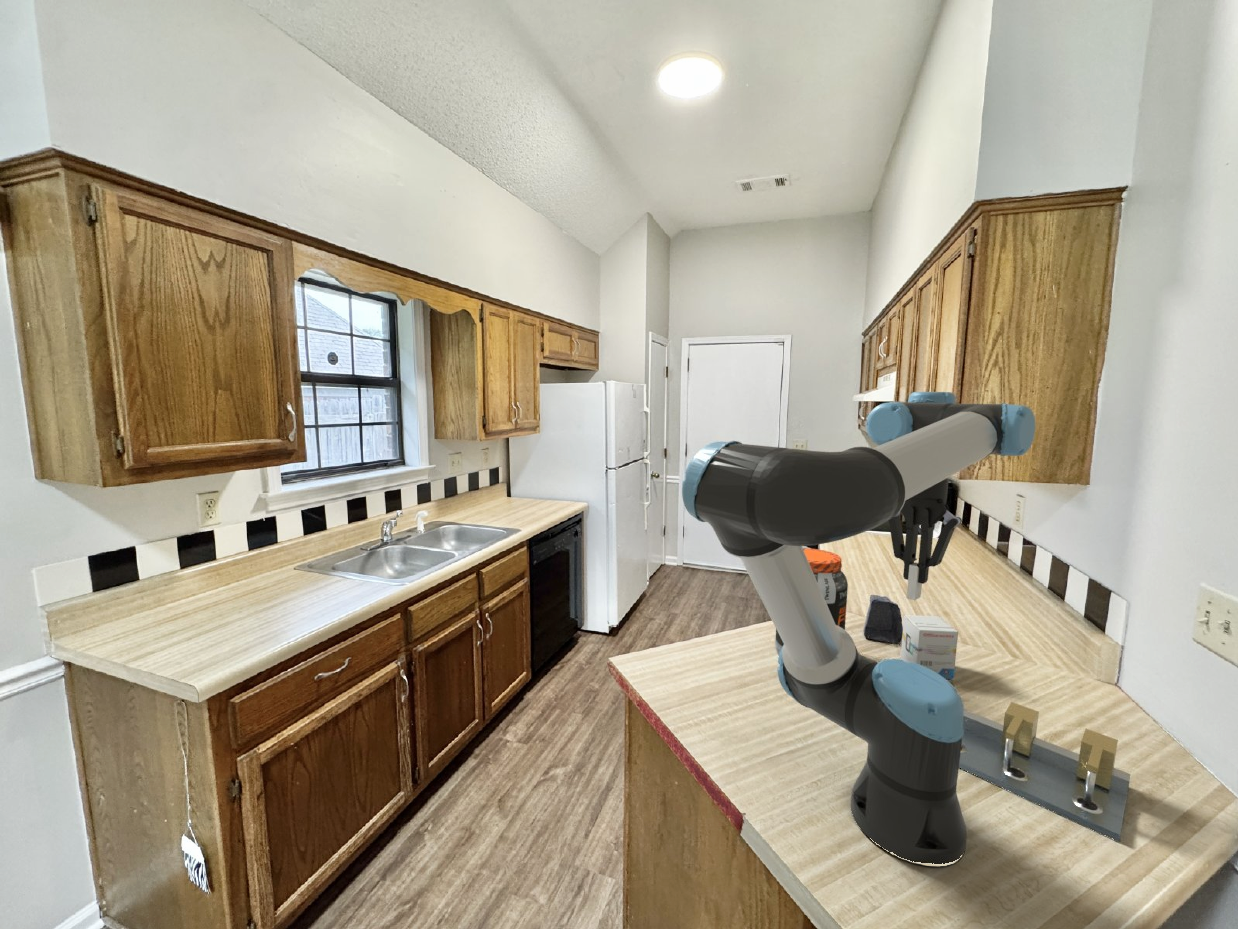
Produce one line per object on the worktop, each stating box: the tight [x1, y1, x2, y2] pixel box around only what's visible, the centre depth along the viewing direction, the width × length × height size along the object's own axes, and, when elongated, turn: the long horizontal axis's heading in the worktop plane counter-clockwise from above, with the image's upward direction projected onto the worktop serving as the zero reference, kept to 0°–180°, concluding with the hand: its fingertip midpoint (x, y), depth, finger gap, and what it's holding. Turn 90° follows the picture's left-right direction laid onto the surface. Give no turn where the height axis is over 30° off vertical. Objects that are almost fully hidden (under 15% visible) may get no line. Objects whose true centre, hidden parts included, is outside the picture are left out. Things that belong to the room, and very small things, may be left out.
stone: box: [862, 594, 903, 645], centre depth 139 cm, size 12×10×10 cm
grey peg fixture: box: [959, 709, 1131, 843], centre depth 90 cm, size 16×26×8 cm, turn 42°
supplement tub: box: [774, 547, 849, 656], centre depth 126 cm, size 16×16×26 cm
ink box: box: [900, 614, 959, 680], centre depth 122 cm, size 9×8×12 cm
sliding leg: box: [1001, 701, 1040, 768], centre depth 91 cm, size 12×4×6 cm, turn 132°
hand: (913, 597), depth 99 cm, fingers closed
